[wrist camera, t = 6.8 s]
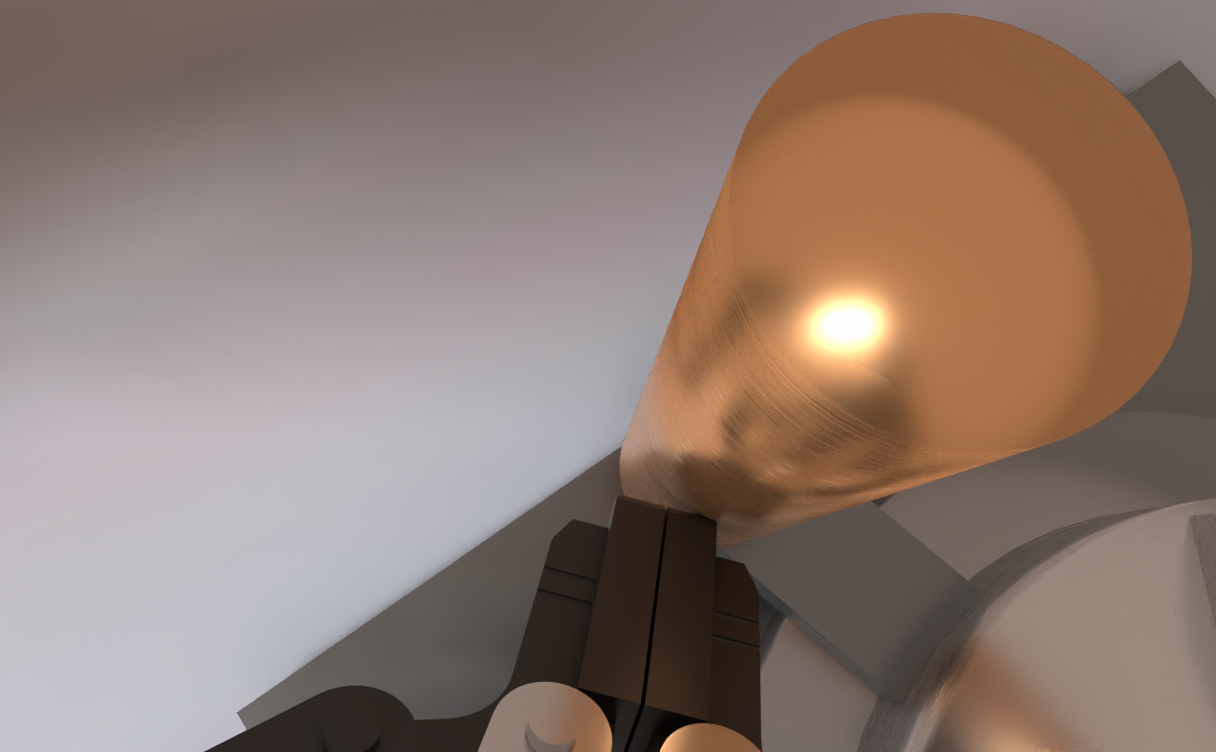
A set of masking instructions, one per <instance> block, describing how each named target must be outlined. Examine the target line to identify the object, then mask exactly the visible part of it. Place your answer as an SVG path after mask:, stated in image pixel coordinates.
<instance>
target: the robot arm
mask: <svg viewBox="0 0 1216 752" xmlns="http://www.w3.org/2000/svg"><path fill="white" fill-rule="evenodd" d="M716 540H717V522H716V521H713V520H711V519H708V518H706V517H704V516H701V515H698V514H694V513H690V512H686V511H682V510H679V509H675V508H671V507H667V508H666V510H665V506H663V505H659V504H655V503H651V502H647V501H643V500H640V499H636V498H632V497H628V496H624V495H621V494H617V495H616V498H615V501H614V504H613V508H612V511H611V515H610V518H609V522H608V525H607V528H606V527H602V526H598V525H594V524H591V523H587V522H583V521H579V520H575V519H572V520H571V521H570V522H569V523H568V524H567V525H566V526H565V527H564V528H563V529H562V530H561V531H560V532H559V533H557V534H556V535H555V536H554V537H553V538H552V540H551V543H550V547H549V550H548V554H547V557H546V561H545V564H544V568H543V571H542V574H541V578H540V581H539V585H538V588H537V592H536V595H535V599H534V602H533V605H532V609H531V612H530V616H529V619H528V623H527V626H526V630H525V633H524V636H523V640H522V643H521V647H520V650H519V654H518V657H517V661H516V664H515V667H514V671H513V674H512V677H511V680H510V682H509V684H508V686H507V687H506V689H505V691H504V692H503V693H502V694H501V695H500V696H499V698H498V699H496V700H495V701H494V702H493V703H491V704H490V705H489V706H487V707H485V708H484V709H482V710H480V711H478V712H475V713H472V714H470V715H466V716H462V717H458V718H448V719H426V720H414V718H413V716H412V714H411V712H410V711H409V709H408V708H407V707H406V706H405V705H404V704H403V703H402V702H401V701H400V700H399V699H397V698H396V697H394V696H393V695H391V694H389V693H387V692H385V691H383V690H380V689H377V688H374V687H368V686H357V685H350V686H342V687H337V688H333V689H329V690H327V691H324V692H322V693H320V694H317V695H316V696H314V697H312V698H310V699H308V700H306V701H304V702H302V703H300V704H298V705H296V706H294V707H292V708H290V709H288V710H286V711H284V712H282V713H280V714H278V715H276V716H274V717H272V718H270V719H268V720H266V721H264V722H262V723H260V724H258V725H256V726H254V727H252V728H250V729H248V730H246V731H244V732H242V733H240V734H238V735H236V736H234V737H232V738H230V739H228V740H226V741H224V742H223V743H221V744H219V745H217V746H215V747H213V748H211V749H209V750H207V751H205V752H763V751H762V742H761V684H760V652H759V647H760V628H758V627H759V622H760V618H759V592H758V590H757V588H756V586H755V584H754V582H753V580H752V578H751V576H750V574H749V572H748V570H747V568H746V566H745V564H744V563H740V562H736V561H733V560H729V559H725V558H721V557H717V556H716Z"/></svg>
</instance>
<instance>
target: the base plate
mask: <svg viewBox="0 0 1216 752" xmlns="http://www.w3.org/2000/svg"><path fill="white" fill-rule="evenodd" d="M1126 99H1127V100H1128V101H1129V102H1130V103H1131V104H1132V105H1133V106H1134V108H1135V109H1136V110H1137V112H1138V113H1139V114H1140V115H1141V117H1142V118H1143V119H1144V120H1145V122H1146V123H1147V124H1148V126H1149V127H1150V128H1151V130H1152V132H1153V133H1154V135H1155V137H1156V138H1157V140H1158V141H1159V143H1160V145H1161V146H1162V148H1163V150H1164V151H1165V153H1166V155H1167V157H1168V160H1169V162H1170V164H1171V166H1172V168H1173V171H1174V173H1175V175H1176V177H1177V179H1178V183H1179V186H1180V189H1181V192H1182V195H1183V198H1184V202H1185V205H1186V209H1187V215H1188V220H1189V226H1190V231H1191V244H1192V272H1191V282H1190V292H1189V296H1188V300H1187V304H1186V308H1185V312H1184V316H1183V319H1182V322H1181V324H1180V327H1179V329H1178V332H1177V334H1176V336H1175V339H1174V341H1173V344H1172V346H1171V347H1170V349H1169V351H1168V352H1167V354H1166V356H1165V357H1164V359H1163V361H1162V362H1161V364H1160V366H1159V367H1158V369H1157V370H1156V371H1155V373H1154V374H1153V375H1152V376H1151V377H1150V379H1149V380H1148V381H1147V382H1146V383H1145V385H1144V386H1143V387H1142V388H1141V389H1140V390H1139V391H1138V392H1137V393H1136V394H1135V395H1134V396H1133V397H1132V398H1131V399H1129V400H1128V401H1127V402H1126V403H1125V404H1124V405H1123V406H1121V407H1120V408H1119V409H1118V410H1117V411H1115V412H1114V413H1112V414H1111V415H1109V416H1107V417H1106V418H1104V419H1103V420H1101V421H1100V422H1098V423H1097V424H1095V425H1093V426H1092V427H1089V428H1087V429H1085V430H1083V431H1080V432H1078V433H1076V434H1074V435H1072V436H1069V437H1067V438H1065V439H1062V440H1059V441H1056V442H1052V443H1049V444H1046V445H1043V446H1040V447H1037V448H1034V449H1031V450H1028V451H1025V452H1021V453H1018V454H1015V455H1012V456H1009V457H1006V458H1003V459H1000V460H997V461H994V462H990V463H987V464H984V465H981V466H978V467H975V468H972V469H969V470H966V471H963V472H959V473H956V474H953V475H950V476H947V477H944V478H941V479H938V480H935V481H931V482H928V483H925V484H922V485H919V486H916V487H913V488H910V489H907V490H904V491H900V492H897V493H894V494H891V495H888V496H885V497H882V498H879V499H876V500H873V501H872V502H873V503H874V504H875V505H877V506H878V507H879V508H880V509H882V510H883V511H884V512H885V513H886V514H888V515H889V516H890V517H891V518H892V519H894V520H895V521H896V522H897V523H898V524H900V525H901V526H902V527H903V528H905V529H906V530H907V531H908V532H909V533H911V534H912V535H913V536H914V537H915V538H917V539H918V540H919V541H920V542H922V543H923V544H924V545H925V546H926V547H928V548H929V549H930V550H931V551H932V552H934V553H935V554H936V555H937V556H938V557H940V558H941V559H942V560H943V561H945V562H946V563H947V564H948V565H949V566H951V567H952V568H953V569H954V570H955V571H957V572H958V573H959V574H960V575H962V576H963V577H964V578H965V579H966V580H969V579H971V578H972V577H973V576H974V575H975V574H976V573H978V572H979V571H981V570H982V569H984V568H985V567H987V566H988V565H990V564H991V563H993V562H994V561H996V560H997V559H999V558H1000V557H1002V556H1003V555H1005V554H1007V553H1008V552H1010V551H1011V550H1013V549H1014V548H1016V547H1018V546H1020V545H1023V544H1025V543H1027V542H1029V541H1031V540H1033V539H1035V538H1038V537H1040V536H1042V535H1044V534H1046V533H1048V532H1051V531H1053V530H1055V529H1058V528H1061V527H1065V526H1068V525H1071V524H1075V523H1078V522H1081V521H1085V520H1088V519H1091V518H1095V517H1099V516H1105V515H1111V514H1118V513H1124V512H1131V511H1137V510H1143V509H1150V508H1156V507H1162V506H1169V505H1175V504H1182V503H1188V502H1194V501H1201V500H1207V499H1214V498H1216V99H1215V98H1214V97H1213V96H1212V95H1211V94H1210V93H1209V92H1208V91H1207V90H1206V88H1205V87H1204V86H1203V85H1202V84H1201V83H1200V82H1199V81H1198V80H1197V79H1196V78H1195V76H1194V75H1193V74H1192V73H1191V72H1190V71H1189V70H1188V69H1187V68H1186V67H1185V66H1184V64H1183V63H1182V62H1181V61H1178V62H1177V63H1176V64H1174V65H1173V66H1171V67H1170V68H1168V69H1167V70H1165V71H1164V72H1163V73H1161V74H1160V75H1158V76H1157V77H1155V78H1154V79H1152V80H1151V81H1150V82H1148V83H1147V84H1145V85H1144V86H1142V87H1141V88H1139V89H1138V90H1137V91H1135V92H1134V93H1132V94H1131V95H1129V96H1128V97H1126ZM621 449H622V447H620V448H619V449H617V450H616V451H614V452H613V453H612V454H610V455H609V456H607V457H606V458H604V459H603V460H601V461H600V462H599V463H597V464H596V465H594V466H593V467H591V468H590V469H588V470H587V471H586V472H584V473H583V474H581V475H580V476H578V477H577V478H575V479H574V480H573V481H571V482H570V483H568V484H567V485H565V486H564V487H562V488H561V489H560V490H558V491H557V492H555V493H554V494H552V495H551V496H549V497H548V498H546V499H545V500H544V501H542V502H541V503H539V504H538V505H536V506H535V507H533V508H532V509H531V510H529V511H528V512H526V513H525V514H523V515H522V516H520V517H519V518H518V519H516V520H515V521H513V522H512V523H510V524H509V525H507V526H506V527H505V528H503V529H502V530H500V531H499V532H497V533H496V534H494V535H493V536H492V537H490V538H489V539H487V540H486V541H484V542H483V543H481V544H480V545H479V546H477V547H476V548H474V549H473V550H471V551H470V552H468V553H467V554H466V555H464V556H463V557H461V558H460V559H458V560H457V561H455V562H454V563H452V564H451V565H450V566H448V567H447V568H445V569H444V570H442V571H441V572H439V573H438V574H437V575H435V576H434V577H432V578H431V579H429V580H428V581H426V582H425V583H424V584H422V585H421V586H419V587H418V588H416V589H415V590H413V591H412V592H411V593H409V594H408V595H406V596H405V597H403V598H402V599H400V600H399V601H398V602H396V603H395V604H393V605H392V606H390V607H389V608H387V609H386V610H385V611H383V612H382V613H380V614H379V615H377V616H376V617H374V618H373V619H372V620H370V621H369V622H367V623H366V624H364V625H363V626H361V627H360V628H358V629H357V630H356V631H354V632H353V633H351V634H350V635H348V636H347V637H345V638H344V639H343V640H341V641H340V642H338V643H337V644H335V645H334V646H332V647H331V648H330V649H328V650H327V651H325V652H324V653H322V654H321V655H319V656H318V657H317V658H315V659H314V660H312V661H311V662H309V663H308V664H306V665H305V666H304V667H302V668H301V669H299V670H298V671H296V672H295V673H293V674H292V675H291V676H289V677H288V678H286V679H285V680H283V681H282V682H280V683H279V684H277V685H276V686H275V687H273V688H272V689H270V690H269V691H267V692H266V693H264V694H263V695H262V696H260V697H259V698H257V699H256V700H254V701H253V702H251V703H250V704H249V705H247V706H246V707H244V708H243V709H241V710H240V711H238V712H237V714H238V715H239V717H240V719H241V721H242V722H243V724H244V726H245V727H246V729H247V730H248V729H250V728H252V727H254V726H256V725H258V724H260V723H262V722H264V721H266V720H268V719H270V718H272V717H274V716H276V715H278V714H280V713H282V712H284V711H286V710H288V709H290V708H292V707H294V706H296V705H298V704H300V703H302V702H304V701H306V700H308V699H310V698H312V697H314V696H316V695H317V694H320V693H322V692H324V691H327V690H329V689H333V688H337V687H342V686H350V685H357V686H368V687H374V688H377V689H380V690H383V691H385V692H387V693H389V694H391V695H393V696H394V697H396V698H397V699H399V700H400V701H401V702H402V703H403V704H404V705H405V706H406V707H407V708H408V709H409V711H410V712H411V714H412V716H413V718H414V720H426V719H448V718H458V717H462V716H466V715H470V714H472V713H475V712H478V711H480V710H482V709H484V708H485V707H487V706H489V705H490V704H491V703H493V702H494V701H495V700H496V699H498V698H499V696H500V695H501V694H502V693H503V692H504V691H505V689H506V687H507V686H508V684H509V682H510V680H511V677H512V674H513V671H514V667H515V664H516V661H517V657H518V654H519V650H520V647H521V643H522V640H523V636H524V633H525V630H526V626H527V623H528V619H529V616H530V612H531V609H532V605H533V602H534V599H535V595H536V592H537V588H538V585H539V581H540V578H541V574H542V571H543V568H544V564H545V561H546V557H547V554H548V550H549V547H550V543H551V540H552V538H553V537H554V536H555V535H556V534H557V533H559V532H560V531H561V530H562V529H563V528H564V527H565V526H566V525H567V524H568V523H569V522H570V521H571V520H572V519H575V520H579V521H583V522H587V523H591V524H594V525H598V526H602V527H606V528H607V525H608V522H609V518H610V515H611V511H612V508H613V504H614V501H615V498H616V495H617V494H621V495H624V492H623V489H622V485H621V479H620V455H621ZM624 496H625V495H624ZM759 618H760V622H759V627H758V628H760V647H759V652H760V684H761V742H762V751H763V752H857V750H858V747H859V743H860V740H861V737H862V734H863V730H864V728H865V725H866V723H867V721H868V719H869V717H870V714H871V712H872V710H873V708H874V705H875V703H876V701H877V699H878V697H879V696H878V695H877V694H876V693H874V692H873V691H872V690H871V689H870V688H869V687H867V686H866V685H865V684H864V683H863V682H861V681H860V680H859V679H858V678H857V677H856V676H854V675H853V674H852V673H851V672H850V671H849V670H847V669H846V668H845V667H844V666H843V665H842V664H840V663H839V662H838V661H837V660H836V659H835V658H833V657H832V656H831V655H830V654H829V653H828V652H826V651H825V650H824V649H823V648H822V647H821V646H819V645H818V644H817V643H816V642H815V641H814V640H812V639H811V638H810V637H809V636H808V635H807V634H805V633H804V632H803V631H802V630H801V629H800V628H798V627H797V626H796V625H795V624H794V623H793V622H791V621H790V620H789V619H788V618H787V617H786V616H784V615H783V614H782V613H781V612H780V611H779V610H777V609H776V608H775V607H774V606H773V605H772V604H770V603H769V602H768V601H767V600H766V599H765V598H763V597H762V596H761V595H760V594H759Z"/></svg>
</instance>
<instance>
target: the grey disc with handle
mask: <svg viewBox="0 0 1216 752" xmlns="http://www.w3.org/2000/svg"><path fill="white" fill-rule="evenodd" d="M1191 272H1192V244H1191V231H1190V226H1189V220H1188V215H1187V209H1186V205H1185V202H1184V198H1183V195H1182V192H1181V189H1180V186H1179V183H1178V179H1177V177H1176V175H1175V173H1174V171H1173V168H1172V166H1171V164H1170V162H1169V160H1168V157H1167V155H1166V153H1165V151H1164V150H1163V148H1162V146H1161V145H1160V143H1159V141H1158V140H1157V138H1156V137H1155V135H1154V133H1153V132H1152V130H1151V128H1150V127H1149V126H1148V124H1147V123H1146V122H1145V120H1144V119H1143V118H1142V117H1141V115H1140V114H1139V113H1138V112H1137V110H1136V109H1135V108H1134V106H1133V105H1132V104H1131V103H1130V102H1129V101H1128V100H1127V99H1126V98H1125V97H1124V96H1123V95H1122V94H1121V93H1120V92H1119V91H1118V90H1117V89H1116V88H1115V87H1114V86H1113V85H1112V84H1111V83H1110V82H1109V81H1108V80H1107V79H1105V78H1104V77H1103V76H1102V75H1100V74H1099V73H1098V72H1097V71H1096V70H1094V69H1093V68H1092V67H1091V66H1089V65H1088V64H1087V63H1085V62H1084V61H1082V60H1081V59H1079V58H1077V57H1076V56H1074V55H1073V54H1071V53H1070V52H1068V51H1067V50H1065V49H1064V48H1062V47H1060V46H1058V45H1056V44H1054V43H1052V42H1050V41H1048V40H1046V39H1044V38H1042V37H1040V36H1038V35H1035V34H1033V33H1030V32H1027V31H1025V30H1022V29H1019V28H1017V27H1014V26H1011V25H1008V24H1004V23H1000V22H996V21H992V20H988V19H984V18H980V17H972V16H965V15H958V14H934V13H922V14H912V15H902V16H895V17H890V18H886V19H881V20H877V21H873V22H869V23H866V24H863V25H860V26H858V27H855V28H852V29H849V30H847V31H844V32H842V33H840V34H838V35H836V36H834V37H832V38H830V39H829V40H827V41H825V42H823V43H821V44H819V45H818V46H816V47H815V48H813V49H812V50H811V51H809V52H808V53H806V54H805V55H804V56H802V57H801V58H799V59H798V60H797V61H796V62H795V63H794V64H793V65H792V66H790V67H789V68H788V69H787V70H786V71H785V72H784V73H783V74H782V75H781V76H780V77H779V78H778V79H777V80H776V82H775V83H774V84H773V85H772V87H771V88H770V89H769V90H768V92H767V93H766V94H765V95H764V97H763V98H762V99H761V101H760V103H759V104H758V106H757V108H756V109H755V111H754V113H753V115H752V116H751V118H750V120H749V122H748V124H747V126H746V129H745V131H744V134H743V136H742V139H741V141H740V144H739V146H738V149H737V151H736V154H735V156H734V159H733V161H732V164H731V167H730V169H729V172H728V174H727V177H726V179H725V182H724V185H723V187H722V190H721V192H720V195H719V197H718V200H717V203H716V205H715V208H714V210H713V213H712V215H711V218H710V221H709V223H708V226H707V228H706V231H705V233H704V236H703V239H702V241H701V244H700V246H699V249H698V251H697V254H696V257H695V259H694V262H693V264H692V267H691V269H690V272H689V275H688V277H687V280H686V282H685V285H684V287H683V290H682V293H681V295H680V298H679V300H678V303H677V305H676V308H675V311H674V313H673V316H672V318H671V321H670V323H669V326H668V329H667V331H666V334H665V336H664V339H663V341H662V344H661V347H660V349H659V352H658V354H657V357H656V359H655V362H654V365H653V367H652V370H651V372H650V375H649V377H648V380H647V383H646V385H645V388H644V390H643V393H642V395H641V398H640V401H639V403H638V406H637V408H636V411H635V413H634V416H633V419H632V421H631V424H630V426H629V429H628V431H627V434H626V437H625V439H624V442H623V445H622V449H621V455H620V479H621V485H622V489H623V492H624V495H625V496H628V497H632V498H636V499H640V500H643V501H647V502H651V503H655V504H659V505H663V506H665V510H666V508H667V507H671V508H675V509H679V510H682V511H686V512H690V513H694V514H698V515H701V516H704V517H706V518H708V519H711V520H713V521H716V522H717V540H716V556H717V557H721V558H725V559H729V560H733V561H736V562H740V563H744V564H745V566H746V568H747V570H748V572H749V574H750V576H751V578H752V580H753V582H754V584H755V586H756V588H757V590H758V592H759V594H760V595H761V596H762V597H763V598H765V599H766V600H767V601H768V602H769V603H770V604H772V605H773V606H774V607H775V608H776V609H777V610H779V611H780V612H781V613H782V614H783V615H784V616H786V617H787V618H788V619H789V620H790V621H791V622H793V623H794V624H795V625H796V626H797V627H798V628H800V629H801V630H802V631H803V632H804V633H805V634H807V635H808V636H809V637H810V638H811V639H812V640H814V641H815V642H816V643H817V644H818V645H819V646H821V647H822V648H823V649H824V650H825V651H826V652H828V653H829V654H830V655H831V656H832V657H833V658H835V659H836V660H837V661H838V662H839V663H840V664H842V665H843V666H844V667H845V668H846V669H847V670H849V671H850V672H851V673H852V674H853V675H854V676H856V677H857V678H858V679H859V680H860V681H861V682H863V683H864V684H865V685H866V686H867V687H869V688H870V689H871V690H872V691H873V692H874V693H876V694H877V695H878V696H879V697H878V699H877V701H876V703H875V705H874V708H873V710H872V712H871V714H870V717H869V719H868V721H867V723H866V725H865V728H864V730H863V734H862V737H861V740H860V743H859V747H858V750H857V752H1216V498H1214V499H1207V500H1201V501H1194V502H1188V503H1182V504H1175V505H1169V506H1162V507H1156V508H1150V509H1143V510H1137V511H1131V512H1124V513H1118V514H1111V515H1105V516H1099V517H1095V518H1091V519H1088V520H1085V521H1081V522H1078V523H1075V524H1071V525H1068V526H1065V527H1061V528H1058V529H1055V530H1053V531H1051V532H1048V533H1046V534H1044V535H1042V536H1040V537H1038V538H1035V539H1033V540H1031V541H1029V542H1027V543H1025V544H1023V545H1020V546H1018V547H1016V548H1014V549H1013V550H1011V551H1010V552H1008V553H1007V554H1005V555H1003V556H1002V557H1000V558H999V559H997V560H996V561H994V562H993V563H991V564H990V565H988V566H987V567H985V568H984V569H982V570H981V571H979V572H978V573H976V574H975V575H974V576H973V577H972V578H971V579H969V580H966V579H965V578H964V577H963V576H962V575H960V574H959V573H958V572H957V571H955V570H954V569H953V568H952V567H951V566H949V565H948V564H947V563H946V562H945V561H943V560H942V559H941V558H940V557H938V556H937V555H936V554H935V553H934V552H932V551H931V550H930V549H929V548H928V547H926V546H925V545H924V544H923V543H922V542H920V541H919V540H918V539H917V538H915V537H914V536H913V535H912V534H911V533H909V532H908V531H907V530H906V529H905V528H903V527H902V526H901V525H900V524H898V523H897V522H896V521H895V520H894V519H892V518H891V517H890V516H889V515H888V514H886V513H885V512H884V511H883V510H882V509H880V508H879V507H878V506H877V505H875V504H874V503H873V502H872V501H873V500H876V499H879V498H882V497H885V496H888V495H891V494H894V493H897V492H900V491H904V490H907V489H910V488H913V487H916V486H919V485H922V484H925V483H928V482H931V481H935V480H938V479H941V478H944V477H947V476H950V475H953V474H956V473H959V472H963V471H966V470H969V469H972V468H975V467H978V466H981V465H984V464H987V463H990V462H994V461H997V460H1000V459H1003V458H1006V457H1009V456H1012V455H1015V454H1018V453H1021V452H1025V451H1028V450H1031V449H1034V448H1037V447H1040V446H1043V445H1046V444H1049V443H1052V442H1056V441H1059V440H1062V439H1065V438H1067V437H1069V436H1072V435H1074V434H1076V433H1078V432H1080V431H1083V430H1085V429H1087V428H1089V427H1092V426H1093V425H1095V424H1097V423H1098V422H1100V421H1101V420H1103V419H1104V418H1106V417H1107V416H1109V415H1111V414H1112V413H1114V412H1115V411H1117V410H1118V409H1119V408H1120V407H1121V406H1123V405H1124V404H1125V403H1126V402H1127V401H1128V400H1129V399H1131V398H1132V397H1133V396H1134V395H1135V394H1136V393H1137V392H1138V391H1139V390H1140V389H1141V388H1142V387H1143V386H1144V385H1145V383H1146V382H1147V381H1148V380H1149V379H1150V377H1151V376H1152V375H1153V374H1154V373H1155V371H1156V370H1157V369H1158V367H1159V366H1160V364H1161V362H1162V361H1163V359H1164V357H1165V356H1166V354H1167V352H1168V351H1169V349H1170V347H1171V346H1172V344H1173V341H1174V339H1175V336H1176V334H1177V332H1178V329H1179V327H1180V324H1181V322H1182V319H1183V316H1184V312H1185V308H1186V304H1187V300H1188V296H1189V292H1190V282H1191Z"/></svg>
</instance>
